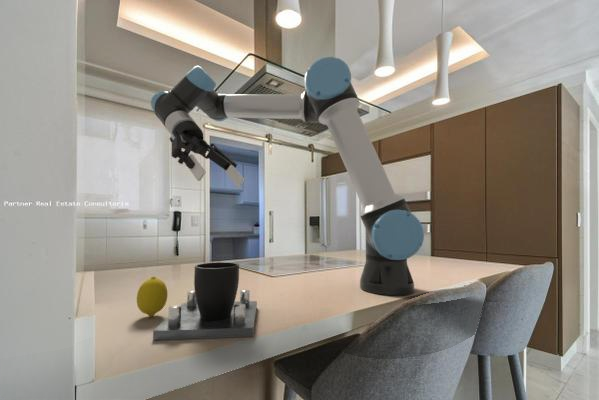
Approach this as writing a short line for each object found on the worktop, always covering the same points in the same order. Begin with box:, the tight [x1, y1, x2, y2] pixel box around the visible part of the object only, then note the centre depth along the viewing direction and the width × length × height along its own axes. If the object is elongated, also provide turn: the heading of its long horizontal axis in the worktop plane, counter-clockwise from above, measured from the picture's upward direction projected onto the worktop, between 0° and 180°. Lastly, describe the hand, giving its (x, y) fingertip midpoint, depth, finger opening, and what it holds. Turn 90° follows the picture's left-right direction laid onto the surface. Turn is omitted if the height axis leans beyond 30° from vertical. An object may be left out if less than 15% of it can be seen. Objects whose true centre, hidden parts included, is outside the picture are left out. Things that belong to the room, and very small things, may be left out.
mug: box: [193, 261, 240, 321], centre depth 55 cm, size 8×12×10 cm
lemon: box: [136, 276, 168, 318], centre depth 57 cm, size 6×6×8 cm
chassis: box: [152, 288, 258, 341], centre depth 54 cm, size 16×16×4 cm
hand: (223, 180), depth 70 cm, fingers open, 13 cm apart
